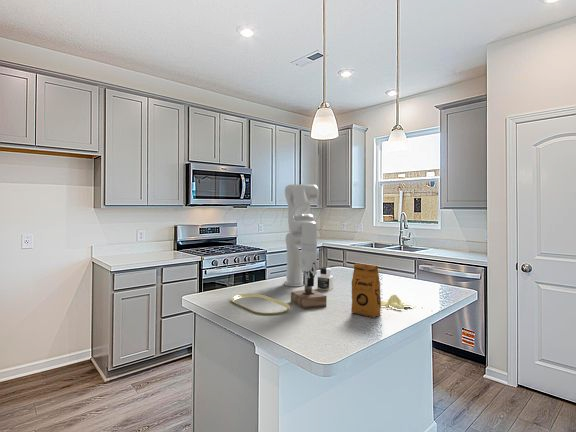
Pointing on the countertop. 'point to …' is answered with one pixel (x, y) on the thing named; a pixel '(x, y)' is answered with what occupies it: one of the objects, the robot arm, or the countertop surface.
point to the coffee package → (366, 290)
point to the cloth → (394, 302)
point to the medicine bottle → (325, 279)
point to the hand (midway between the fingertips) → (308, 284)
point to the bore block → (308, 299)
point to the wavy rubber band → (264, 298)
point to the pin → (307, 289)
